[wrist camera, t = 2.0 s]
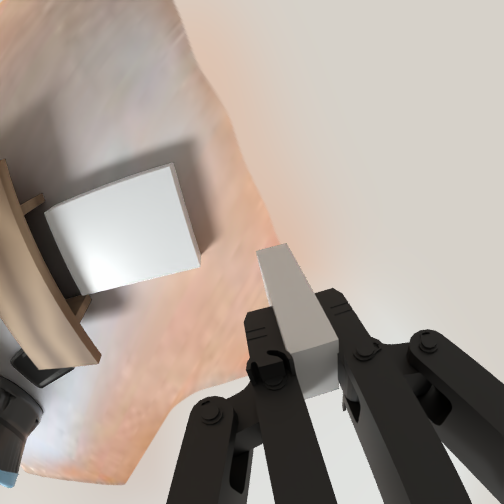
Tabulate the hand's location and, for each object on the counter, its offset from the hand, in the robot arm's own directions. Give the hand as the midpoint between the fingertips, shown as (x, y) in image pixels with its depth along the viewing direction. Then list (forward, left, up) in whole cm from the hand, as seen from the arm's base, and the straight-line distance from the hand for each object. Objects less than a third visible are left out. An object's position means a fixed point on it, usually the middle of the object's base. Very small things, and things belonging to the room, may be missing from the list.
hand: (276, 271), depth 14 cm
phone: (-39, -16, -15) cm, 45 cm away
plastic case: (-13, 0, -15) cm, 20 cm away
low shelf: (-26, 0, -15) cm, 30 cm away
